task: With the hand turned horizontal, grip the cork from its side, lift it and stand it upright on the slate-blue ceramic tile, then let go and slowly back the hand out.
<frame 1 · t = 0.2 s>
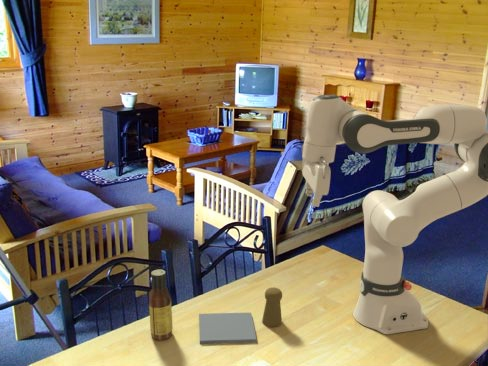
hand: (312, 200, 151), 39 cm above the table, tool pointing down, fingers open, 8 cm apart
sauce bottle: (161, 335, 153), on the table
tile: (226, 328, 157), on the table
cork: (272, 322, 161), on the table
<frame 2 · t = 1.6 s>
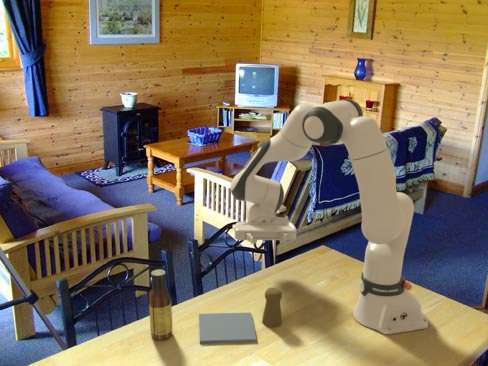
hand: (268, 241, 167), 21 cm above the table, tool horizontal, fingers open, 8 cm apart
nothing on the table moved.
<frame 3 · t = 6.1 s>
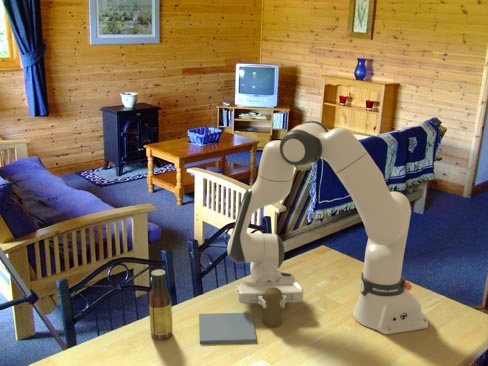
hand: (274, 306, 159), 6 cm above the table, tool horizontal, fingers closed on cork, 3 cm apart
cork: (271, 322, 161), on the table, touching gripper
everything else where it was.
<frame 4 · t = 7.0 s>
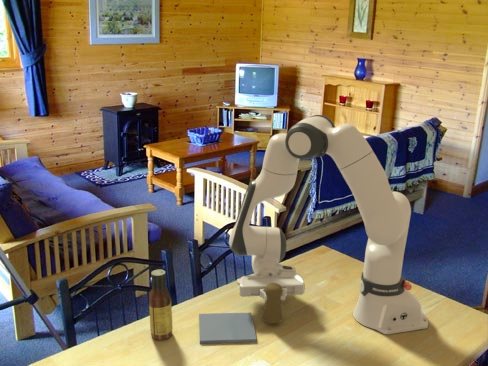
hand: (275, 298, 158), 9 cm above the table, tool horizontal, fingers closed on cork, 3 cm apart
cork: (272, 318, 161), point 1 cm above the table, touching gripper
everything else where it was.
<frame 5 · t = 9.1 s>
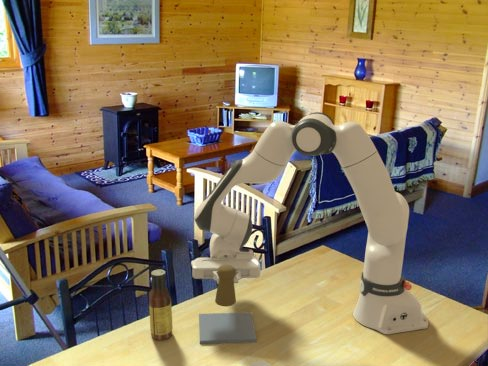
hand: (227, 281, 151), 16 cm above the table, tool horizontal, fingers closed on cork, 3 cm apart
cork: (225, 301, 154), point 9 cm above the table, touching gripper
everything else where it was.
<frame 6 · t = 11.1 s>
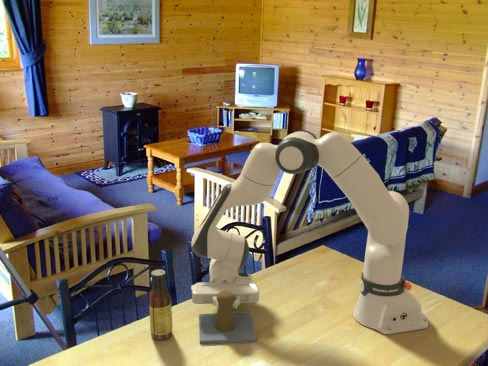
hand: (227, 307, 154), 8 cm above the table, tool horizontal, fingers closed on cork, 3 cm apart
cork: (225, 326, 157), point 1 cm above the table, touching gripper, tile
everything else where it was.
when the fingers open (8 cm above the table, at t = 11.2 s): cork stays where it is, resting on tile.
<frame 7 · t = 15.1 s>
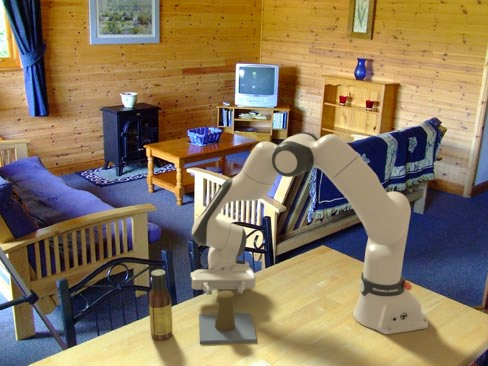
hand: (225, 292, 162), 8 cm above the table, tool horizontal, fingers open, 8 cm apart
cork: (225, 326, 157), point 1 cm above the table, touching tile
everything else where it was.
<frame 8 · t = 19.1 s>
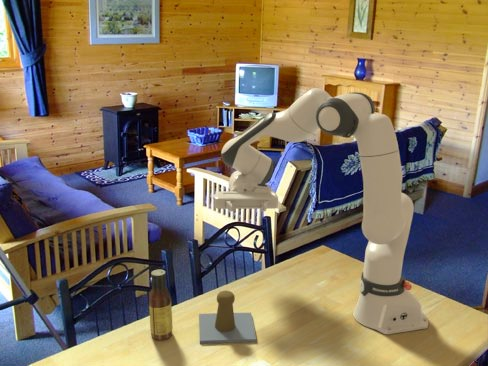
hand: (248, 209, 162), 32 cm above the table, tool horizontal, fingers open, 8 cm apart
nothing on the table moved.
at the end: cork inside the target area on the tile (0.5 cm from its centre), point 0.8 cm above the tile's base; cork tilted 0°; the gripper is holding nothing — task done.
